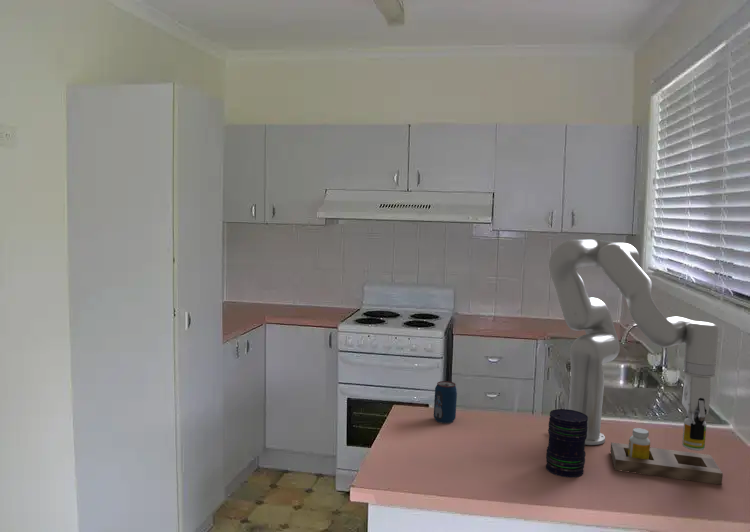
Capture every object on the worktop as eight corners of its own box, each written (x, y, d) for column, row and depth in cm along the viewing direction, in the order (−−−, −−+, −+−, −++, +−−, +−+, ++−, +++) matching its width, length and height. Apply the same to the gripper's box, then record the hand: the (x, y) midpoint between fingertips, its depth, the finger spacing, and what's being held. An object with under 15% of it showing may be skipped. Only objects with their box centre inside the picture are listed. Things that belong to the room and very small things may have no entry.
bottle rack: (614, 470, 177) (615, 459, 177) (610, 452, 190) (611, 442, 190) (721, 484, 171) (722, 473, 171) (709, 465, 184) (710, 455, 183)
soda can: (456, 418, 214) (458, 381, 212) (454, 425, 207) (456, 387, 206) (435, 415, 215) (436, 379, 214) (431, 422, 208) (433, 385, 207)
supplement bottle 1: (622, 461, 184) (625, 427, 183) (638, 459, 186) (641, 426, 185) (636, 469, 179) (639, 434, 178) (652, 467, 181) (655, 433, 180)
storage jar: (573, 461, 182) (577, 408, 180) (591, 477, 172) (595, 421, 171) (539, 462, 180) (543, 409, 179) (554, 478, 171) (559, 421, 169)
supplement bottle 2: (707, 452, 175) (710, 416, 174) (684, 449, 176) (687, 414, 175) (701, 444, 180) (704, 409, 179) (679, 442, 181) (682, 408, 180)
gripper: (677, 360, 185) (672, 423, 187) (690, 375, 169) (685, 444, 170) (707, 362, 183) (702, 426, 185) (723, 377, 167) (717, 448, 168)
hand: (694, 434), depth 178 cm, fingers closed on supplement bottle 2, 5 cm apart
